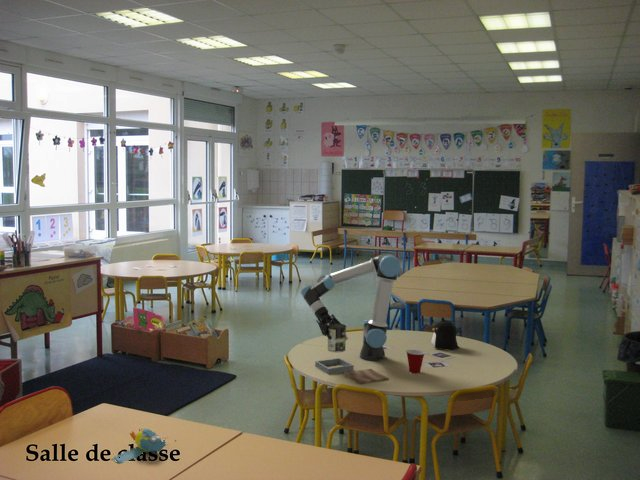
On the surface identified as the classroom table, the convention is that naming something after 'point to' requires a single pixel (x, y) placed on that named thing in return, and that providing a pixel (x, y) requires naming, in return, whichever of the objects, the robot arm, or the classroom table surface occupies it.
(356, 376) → the walnut board
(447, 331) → the penguin
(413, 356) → the plastic cup
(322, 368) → the grey tub
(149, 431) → the blue toy bird
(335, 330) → the coffee can
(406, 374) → the classroom table surface
